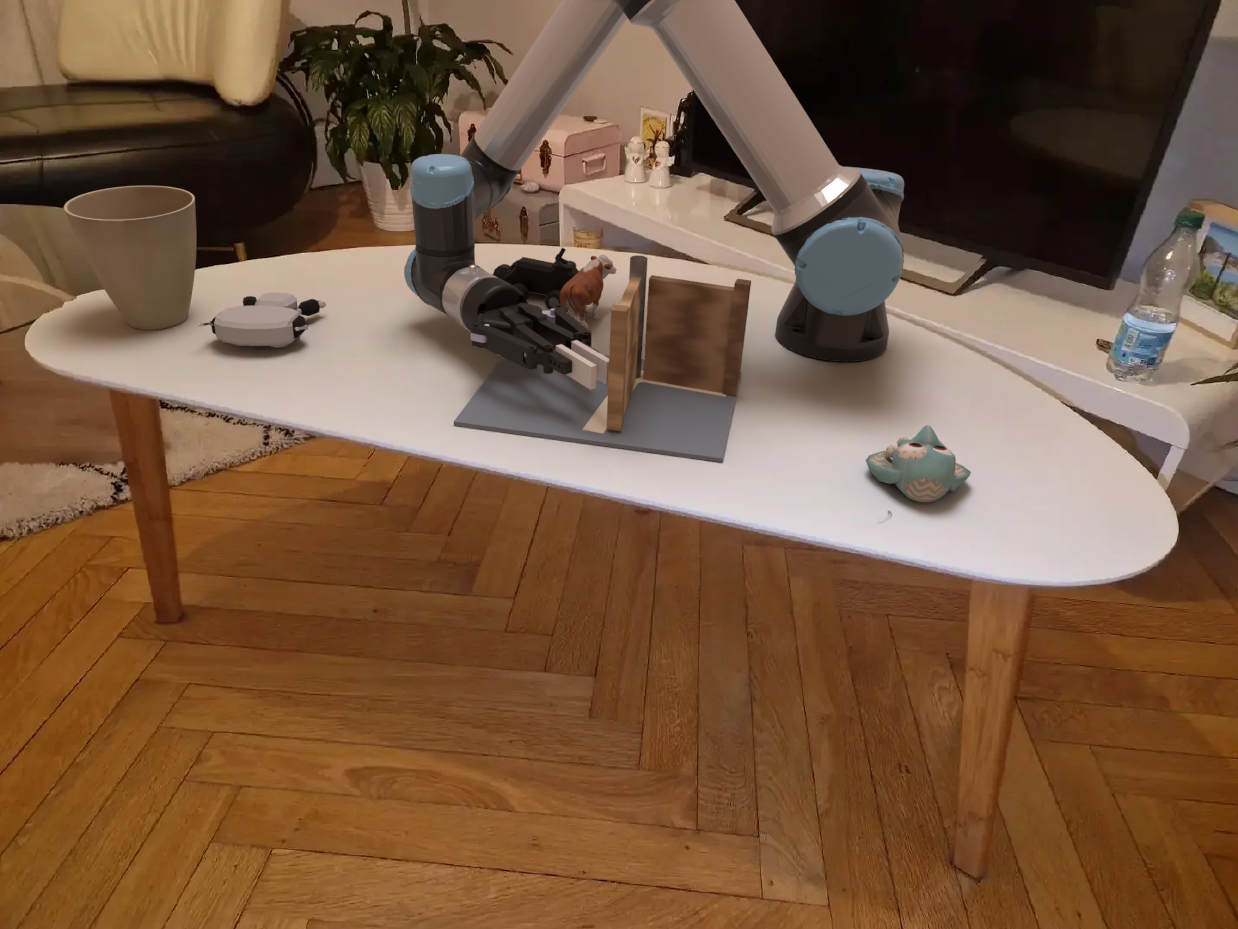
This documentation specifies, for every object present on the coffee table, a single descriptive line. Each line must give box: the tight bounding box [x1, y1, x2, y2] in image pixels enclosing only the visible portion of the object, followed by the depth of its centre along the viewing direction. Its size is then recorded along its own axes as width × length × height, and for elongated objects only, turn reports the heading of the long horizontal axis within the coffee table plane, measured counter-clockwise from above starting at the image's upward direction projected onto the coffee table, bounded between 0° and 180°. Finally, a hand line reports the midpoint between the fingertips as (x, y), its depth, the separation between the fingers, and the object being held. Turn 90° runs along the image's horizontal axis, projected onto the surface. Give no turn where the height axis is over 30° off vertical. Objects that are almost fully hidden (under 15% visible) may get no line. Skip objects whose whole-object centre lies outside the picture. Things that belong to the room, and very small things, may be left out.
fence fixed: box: [628, 255, 752, 398], centre depth 110 cm, size 14×2×16 cm, turn 73°
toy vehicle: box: [491, 247, 580, 311], centre depth 137 cm, size 8×15×9 cm, turn 70°
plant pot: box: [63, 185, 197, 331], centre depth 121 cm, size 15×15×16 cm
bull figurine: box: [560, 254, 617, 330], centre depth 129 cm, size 4×13×8 cm, turn 155°
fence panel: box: [606, 276, 641, 431], centre depth 104 cm, size 13×2×14 cm, turn 171°
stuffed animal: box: [865, 424, 972, 503], centre depth 96 cm, size 11×7×12 cm
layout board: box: [453, 349, 742, 463], centre depth 110 cm, size 30×22×1 cm
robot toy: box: [198, 292, 327, 349], centre depth 122 cm, size 12×4×15 cm
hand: (601, 375), depth 100 cm, fingers open, 1 cm apart
